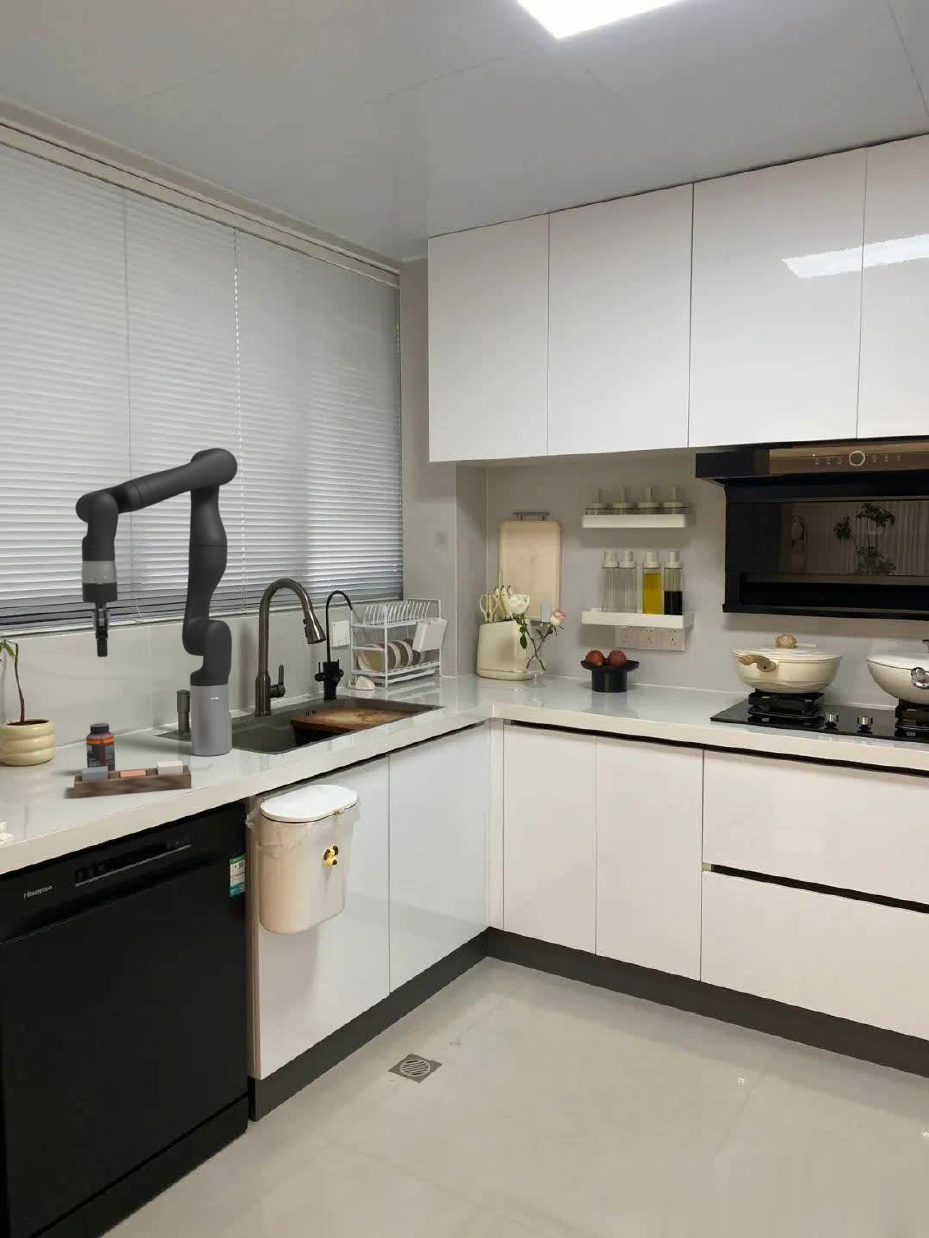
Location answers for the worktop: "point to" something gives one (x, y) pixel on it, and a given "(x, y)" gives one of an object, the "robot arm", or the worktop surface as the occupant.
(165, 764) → the cream key
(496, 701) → the worktop surface
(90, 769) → the slate key
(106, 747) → the supplement bottle
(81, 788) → the key console
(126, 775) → the terracotta key
